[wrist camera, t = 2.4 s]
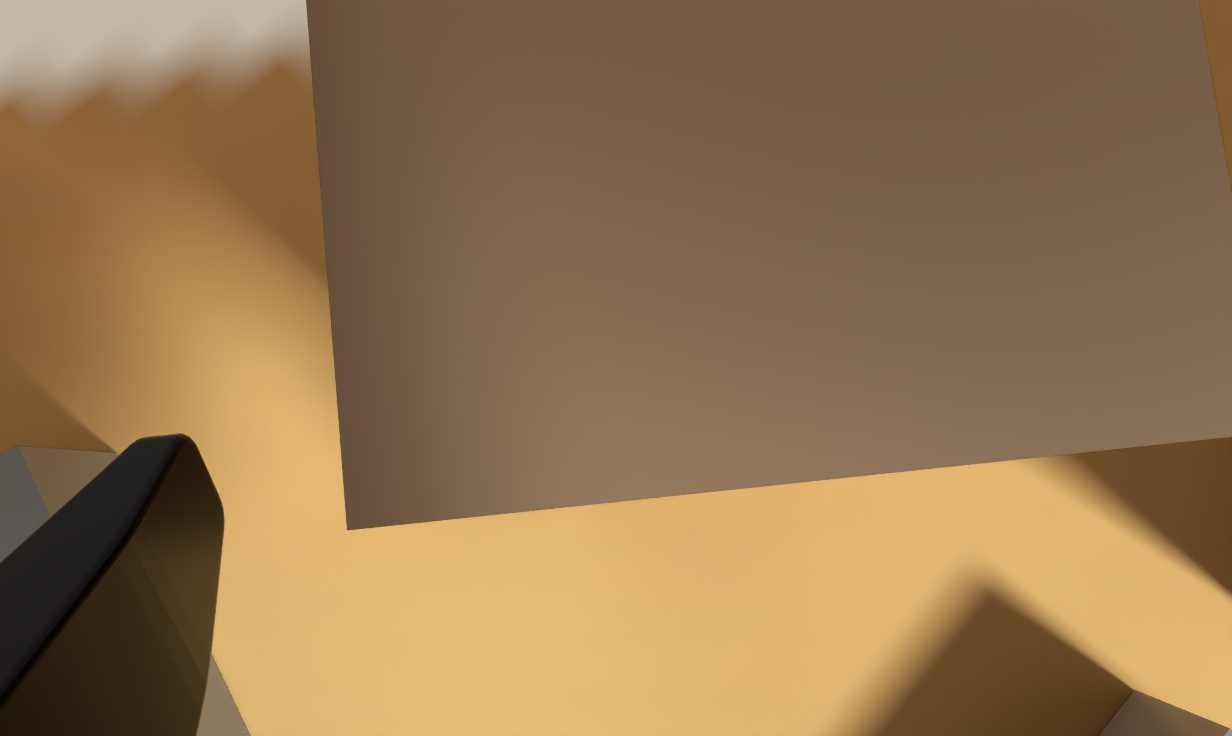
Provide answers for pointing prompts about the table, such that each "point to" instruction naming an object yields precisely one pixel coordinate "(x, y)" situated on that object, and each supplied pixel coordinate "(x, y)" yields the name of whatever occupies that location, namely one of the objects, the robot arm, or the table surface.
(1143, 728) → the end cap
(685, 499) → the table surface
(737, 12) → the brown wooden block
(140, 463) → the robot arm
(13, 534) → the end cap
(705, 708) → the table surface
